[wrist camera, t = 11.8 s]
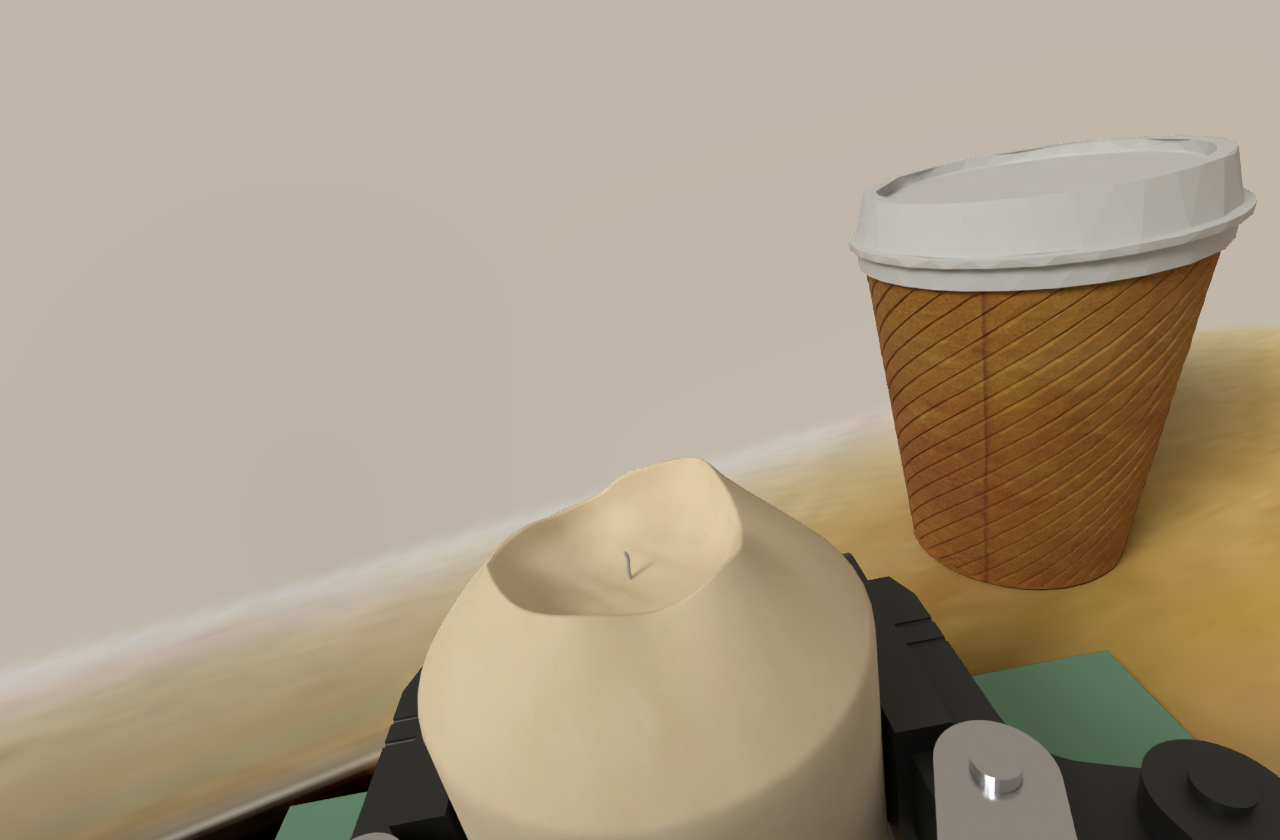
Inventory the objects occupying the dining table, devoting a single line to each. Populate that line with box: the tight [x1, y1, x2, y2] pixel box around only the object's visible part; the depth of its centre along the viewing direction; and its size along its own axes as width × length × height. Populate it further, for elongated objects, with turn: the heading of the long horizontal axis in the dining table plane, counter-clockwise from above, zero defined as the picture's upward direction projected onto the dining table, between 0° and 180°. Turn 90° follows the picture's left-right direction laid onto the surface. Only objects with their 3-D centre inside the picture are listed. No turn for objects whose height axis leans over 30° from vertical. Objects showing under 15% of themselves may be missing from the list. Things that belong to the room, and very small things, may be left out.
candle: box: [418, 458, 888, 840], centre depth 9 cm, size 6×6×10 cm
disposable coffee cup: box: [848, 135, 1257, 589], centre depth 20 cm, size 10×10×12 cm
